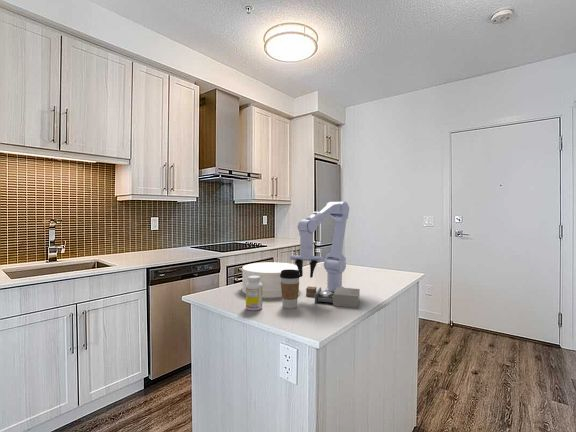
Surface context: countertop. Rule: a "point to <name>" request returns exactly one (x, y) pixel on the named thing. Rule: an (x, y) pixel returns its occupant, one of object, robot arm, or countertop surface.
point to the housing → (346, 297)
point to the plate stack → (266, 276)
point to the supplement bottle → (253, 293)
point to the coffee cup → (289, 287)
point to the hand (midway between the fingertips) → (306, 276)
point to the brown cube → (310, 291)
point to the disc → (325, 294)
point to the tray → (322, 298)
